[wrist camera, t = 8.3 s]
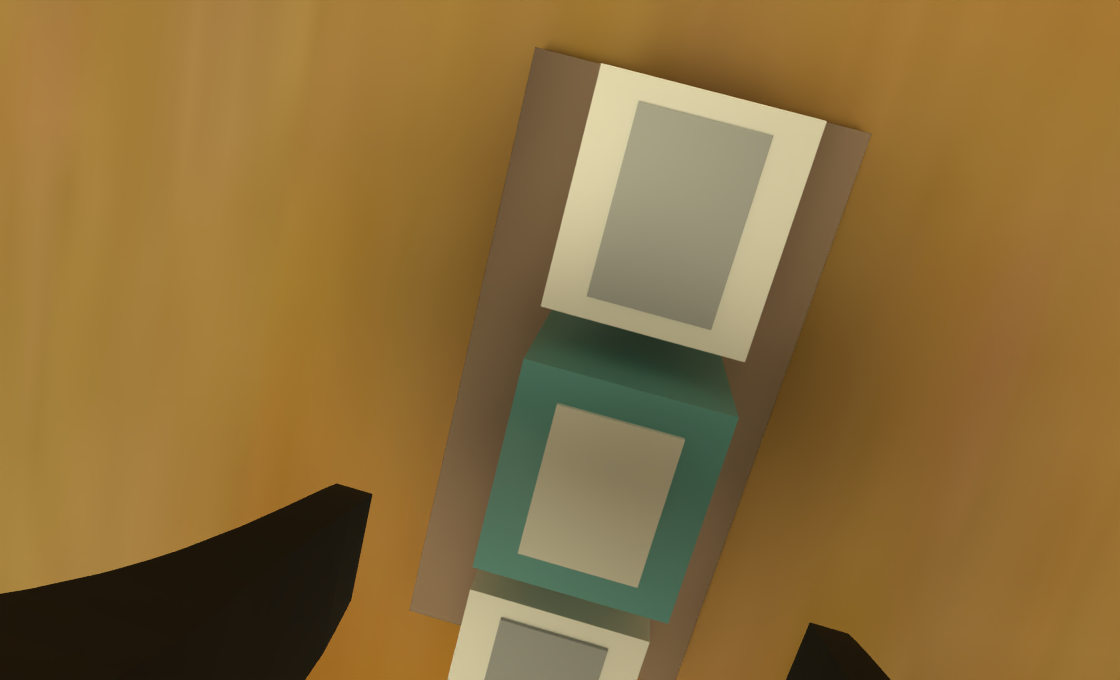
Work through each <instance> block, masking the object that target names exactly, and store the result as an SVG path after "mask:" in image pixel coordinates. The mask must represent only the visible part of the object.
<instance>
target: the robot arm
mask: <svg viewBox="0 0 1120 680" xmlns="http://www.w3.org/2000/svg"><path fill="white" fill-rule="evenodd" d="M371 498H372V494H371V493H367V492H364V491H360V490H357V489H354V488H350V487H347V486H343V485H340V484H334V485H332V486H329V487H327V488H325V489H322V490H320V491H318V492H316V493H314V494H312V495H309V496H307V497H305V498H303V499H301V500H299V501H297V502H294V503H292V504H290V505H288V506H286V507H284V508H281V509H279V510H277V511H275V512H272V513H270V514H268V515H266V516H263V517H261V518H259V519H257V520H254V521H252V522H250V523H248V524H245V525H243V526H241V527H238V528H236V529H233V530H231V531H228V532H225V533H223V534H220V535H218V536H215V537H212V538H210V539H207V540H205V541H202V542H200V543H197V544H194V545H192V546H189V547H187V548H184V549H181V550H178V551H175V552H172V553H169V554H166V555H163V556H160V557H157V558H154V559H151V560H147V561H144V562H140V563H137V564H133V565H130V566H126V567H123V568H119V569H116V570H112V571H108V572H104V573H101V574H96V575H91V576H87V577H82V578H78V579H73V580H69V581H64V582H59V583H55V584H50V585H46V586H41V587H37V588H32V589H26V590H21V591H15V592H9V593H3V594H0V680H305V679H306V678H307V676H308V675H309V673H310V672H311V670H312V669H313V667H314V666H315V664H316V663H317V662H318V660H319V659H320V657H321V656H322V654H323V652H324V651H325V649H326V647H327V645H328V643H329V641H330V639H331V638H332V636H333V634H334V632H335V630H336V628H337V626H338V624H339V622H340V621H341V619H342V617H343V615H344V613H345V611H346V609H347V607H348V605H349V603H350V601H351V598H352V593H353V588H354V583H355V578H356V573H357V568H358V563H359V558H360V553H361V548H362V543H363V538H364V533H365V528H366V523H367V518H368V513H369V508H370V503H371ZM786 680H890V679H889V677H888V676H887V675H886V674H885V673H884V672H883V671H882V669H881V668H880V667H879V666H878V665H877V664H876V663H875V661H874V660H873V659H872V658H871V657H870V656H869V655H868V654H867V652H866V651H865V650H864V649H863V648H862V647H861V646H860V645H859V644H858V643H857V642H856V641H855V640H854V639H853V638H852V637H851V636H850V635H849V634H847V633H844V632H841V631H837V630H834V629H830V628H827V627H824V626H820V625H817V624H813V623H809V626H808V628H807V631H806V633H805V635H804V638H803V640H802V643H801V645H800V648H799V650H798V652H797V655H796V657H795V660H794V662H793V664H792V667H791V669H790V672H789V674H788V676H787V679H786Z"/></svg>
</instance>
